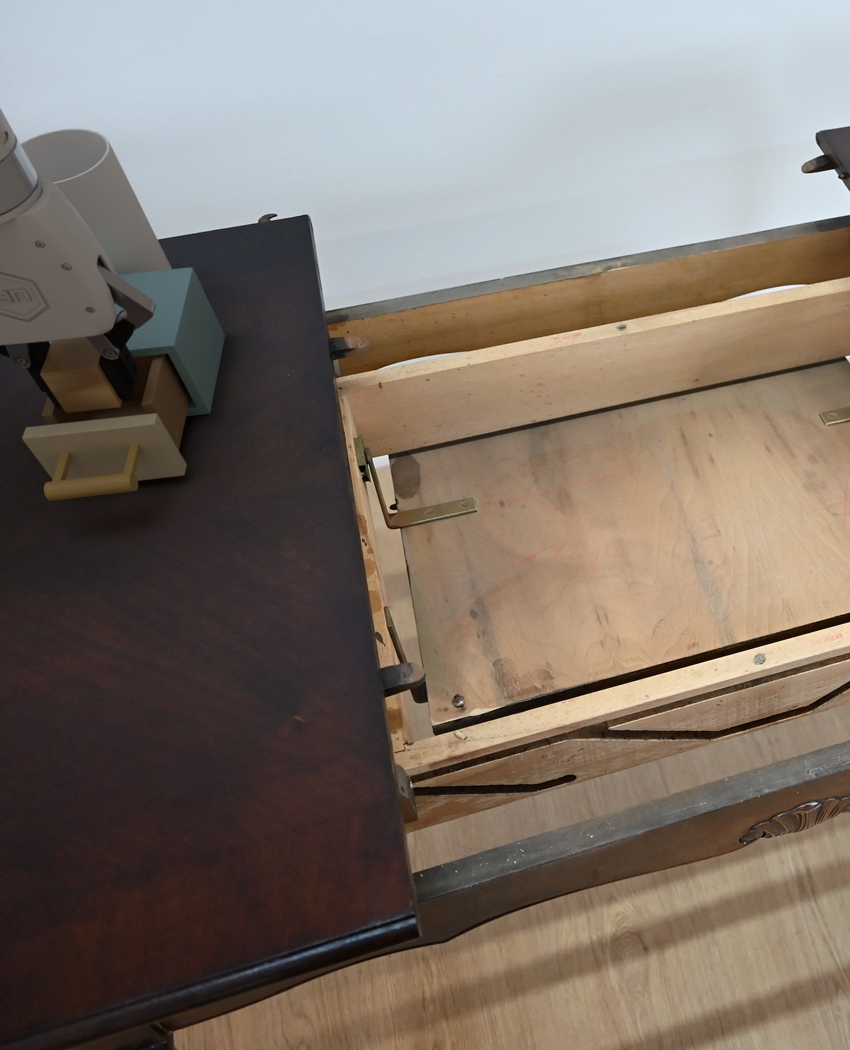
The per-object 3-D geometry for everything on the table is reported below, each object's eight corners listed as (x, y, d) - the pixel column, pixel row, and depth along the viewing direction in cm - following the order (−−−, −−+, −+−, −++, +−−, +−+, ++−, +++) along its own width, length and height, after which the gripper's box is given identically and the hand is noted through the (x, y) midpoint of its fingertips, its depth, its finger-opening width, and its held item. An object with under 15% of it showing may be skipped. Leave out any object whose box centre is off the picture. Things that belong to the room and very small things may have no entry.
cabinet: (210, 414, 87) (174, 345, 81) (78, 428, 86) (32, 360, 80) (225, 335, 93) (192, 266, 87) (102, 348, 92) (61, 279, 86)
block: (65, 413, 78) (39, 374, 75) (77, 377, 80) (52, 337, 77) (121, 407, 78) (97, 368, 75) (130, 371, 81) (108, 332, 78)
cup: (74, 334, 93) (-23, 177, 81) (127, 279, 98) (42, 122, 86) (155, 349, 92) (69, 191, 79) (204, 291, 97) (130, 135, 84)
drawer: (176, 517, 79) (144, 466, 74) (47, 532, 78) (6, 482, 73) (200, 397, 87) (173, 344, 82) (84, 409, 86) (49, 357, 81)
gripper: (-200, 226, 62) (-32, 438, 76) (94, 202, 63) (204, 413, 78) (-155, 157, 66) (-5, 369, 81) (117, 136, 68) (217, 347, 82)
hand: (97, 389), depth 79 cm, fingers closed on block, 4 cm apart
